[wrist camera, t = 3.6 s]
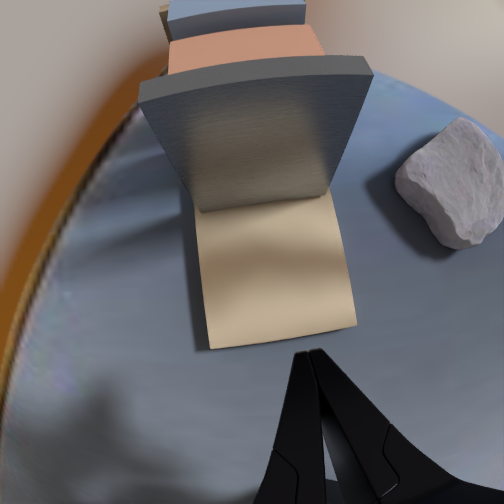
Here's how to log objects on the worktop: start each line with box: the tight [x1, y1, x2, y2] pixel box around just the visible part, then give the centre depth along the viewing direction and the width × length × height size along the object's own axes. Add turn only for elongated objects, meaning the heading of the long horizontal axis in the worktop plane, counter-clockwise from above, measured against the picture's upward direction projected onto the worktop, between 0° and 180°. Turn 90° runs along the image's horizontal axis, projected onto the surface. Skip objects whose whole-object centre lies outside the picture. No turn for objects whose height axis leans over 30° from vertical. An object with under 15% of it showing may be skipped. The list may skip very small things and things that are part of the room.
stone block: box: [394, 117, 504, 250], centre depth 21 cm, size 12×5×10 cm
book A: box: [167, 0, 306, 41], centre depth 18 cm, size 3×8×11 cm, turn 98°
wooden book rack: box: [159, 0, 357, 349], centre depth 18 cm, size 22×10×11 cm, turn 8°
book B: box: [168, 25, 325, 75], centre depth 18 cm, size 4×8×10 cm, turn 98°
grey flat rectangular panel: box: [138, 55, 374, 213], centre depth 15 cm, size 1×9×12 cm, turn 98°
